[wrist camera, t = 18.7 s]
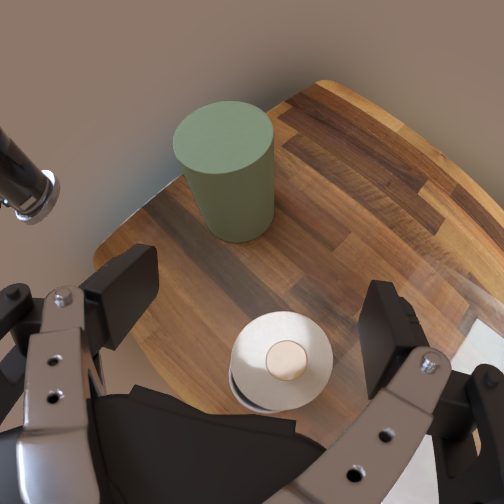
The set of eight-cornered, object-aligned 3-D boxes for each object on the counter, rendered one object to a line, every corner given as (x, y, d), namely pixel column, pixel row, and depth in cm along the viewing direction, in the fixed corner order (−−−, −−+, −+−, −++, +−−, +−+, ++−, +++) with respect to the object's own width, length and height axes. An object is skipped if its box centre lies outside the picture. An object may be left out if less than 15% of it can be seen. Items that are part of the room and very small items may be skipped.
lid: (236, 414, 22) (221, 435, 15) (227, 317, 25) (208, 298, 18) (336, 401, 22) (364, 416, 15) (324, 306, 25) (346, 281, 18)
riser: (205, 247, 41) (170, 181, 26) (203, 186, 45) (175, 109, 30) (278, 238, 41) (281, 166, 26) (269, 177, 44) (266, 96, 29)
